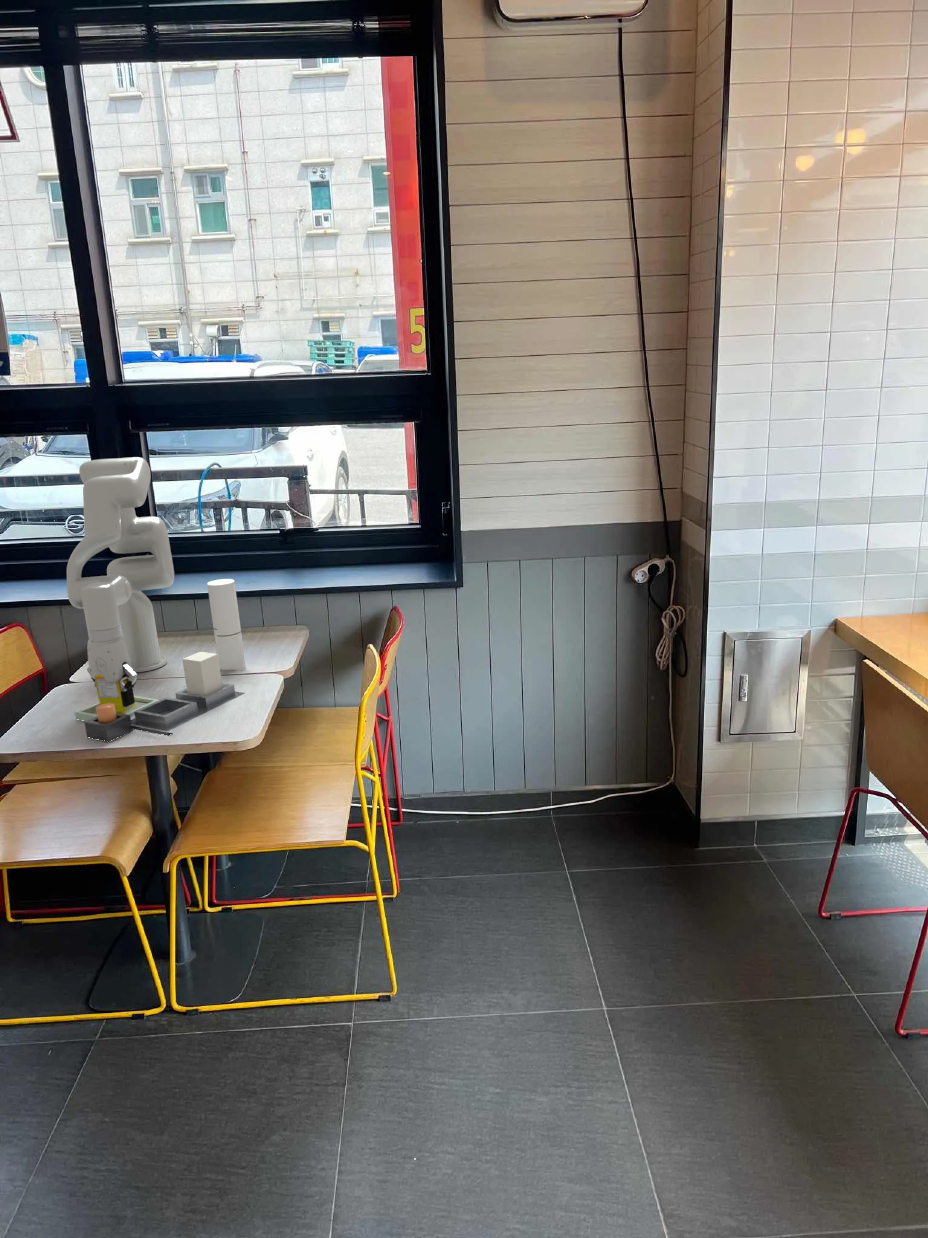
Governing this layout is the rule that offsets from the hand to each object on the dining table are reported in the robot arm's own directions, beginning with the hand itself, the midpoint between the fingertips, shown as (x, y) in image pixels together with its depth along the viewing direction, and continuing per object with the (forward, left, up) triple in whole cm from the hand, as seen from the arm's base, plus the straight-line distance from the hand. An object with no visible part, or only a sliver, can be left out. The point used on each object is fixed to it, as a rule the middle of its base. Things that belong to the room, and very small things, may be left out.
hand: (117, 702), depth 219 cm
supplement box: (0, 0, -3) cm, 3 cm away
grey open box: (+16, +7, -3) cm, 18 cm away
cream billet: (+16, +14, -2) cm, 21 cm away
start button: (+9, -11, 0) cm, 14 cm away
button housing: (+9, -10, -3) cm, 14 cm away
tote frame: (0, 0, -3) cm, 3 cm away
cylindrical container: (+4, +36, -3) cm, 36 cm away
